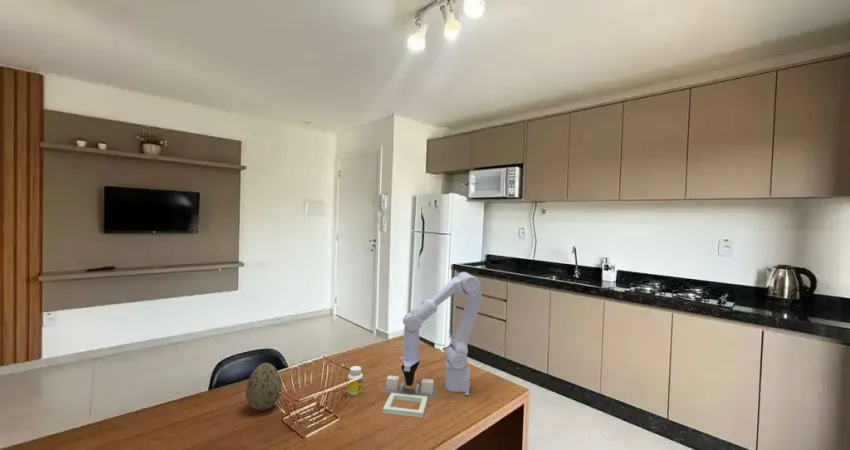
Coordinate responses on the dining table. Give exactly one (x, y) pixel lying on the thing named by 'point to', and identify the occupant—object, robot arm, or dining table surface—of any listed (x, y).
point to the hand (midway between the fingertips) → (410, 382)
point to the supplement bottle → (355, 382)
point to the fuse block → (422, 390)
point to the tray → (404, 411)
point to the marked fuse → (412, 384)
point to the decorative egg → (263, 387)
